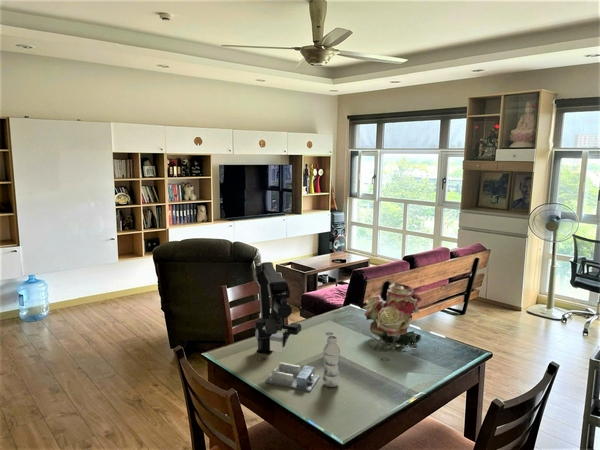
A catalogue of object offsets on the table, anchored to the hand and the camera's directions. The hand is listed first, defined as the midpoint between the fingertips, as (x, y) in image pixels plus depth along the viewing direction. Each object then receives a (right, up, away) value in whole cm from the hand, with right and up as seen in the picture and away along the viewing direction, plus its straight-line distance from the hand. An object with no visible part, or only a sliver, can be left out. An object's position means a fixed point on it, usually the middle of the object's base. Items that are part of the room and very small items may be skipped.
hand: (278, 346), depth 181 cm
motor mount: (+6, -13, -3) cm, 14 cm away
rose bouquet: (+54, -8, +32) cm, 63 cm away
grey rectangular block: (0, -1, 0) cm, 1 cm away
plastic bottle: (+21, -14, -7) cm, 26 cm away
